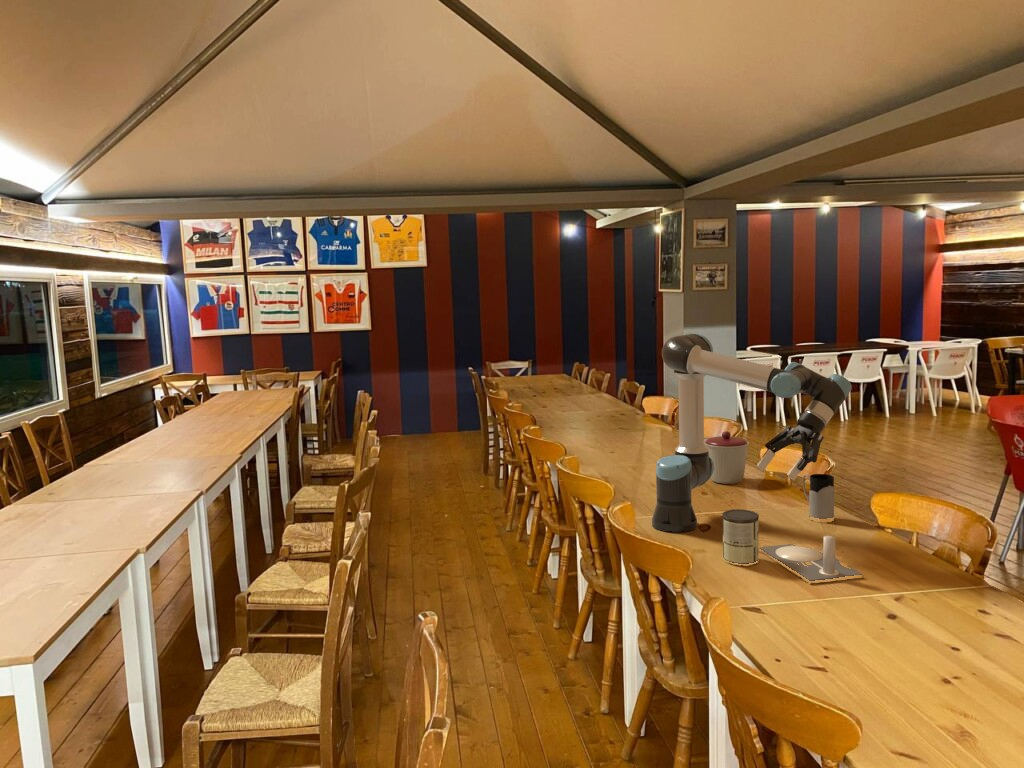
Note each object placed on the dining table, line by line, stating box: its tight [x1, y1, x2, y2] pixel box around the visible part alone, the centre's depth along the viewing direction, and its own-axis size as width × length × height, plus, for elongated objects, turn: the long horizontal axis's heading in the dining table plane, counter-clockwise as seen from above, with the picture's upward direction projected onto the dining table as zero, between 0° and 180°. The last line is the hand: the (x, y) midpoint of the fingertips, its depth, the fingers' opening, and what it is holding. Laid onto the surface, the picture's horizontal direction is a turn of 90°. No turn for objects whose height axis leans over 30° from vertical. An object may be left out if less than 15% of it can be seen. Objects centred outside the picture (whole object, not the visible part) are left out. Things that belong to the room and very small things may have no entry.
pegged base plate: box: [758, 535, 863, 581], centre depth 213 cm, size 16×27×11 cm, turn 10°
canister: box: [704, 431, 750, 485], centre depth 307 cm, size 18×18×21 cm
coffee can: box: [721, 508, 760, 564], centre depth 218 cm, size 10×10×14 cm
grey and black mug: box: [802, 473, 835, 519], centre depth 256 cm, size 9×14×15 cm, turn 15°
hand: (774, 472), depth 223 cm, fingers open, 13 cm apart
